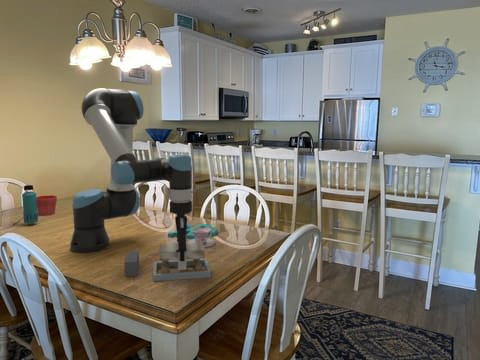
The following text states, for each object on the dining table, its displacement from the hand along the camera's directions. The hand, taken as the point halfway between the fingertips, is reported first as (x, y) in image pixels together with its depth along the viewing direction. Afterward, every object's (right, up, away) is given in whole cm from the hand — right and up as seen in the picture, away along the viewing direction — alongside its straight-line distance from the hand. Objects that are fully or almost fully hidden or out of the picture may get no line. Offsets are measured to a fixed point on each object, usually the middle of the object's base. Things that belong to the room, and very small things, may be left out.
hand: (181, 264), depth 128 cm
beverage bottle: (-84, +7, +56) cm, 101 cm away
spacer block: (-18, -2, +2) cm, 18 cm away
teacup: (+3, +1, +32) cm, 32 cm away
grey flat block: (0, +3, -1) cm, 3 cm away
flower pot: (-88, +10, +77) cm, 117 cm away
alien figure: (-1, +4, +47) cm, 47 cm away
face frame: (0, -3, 0) cm, 3 cm away
